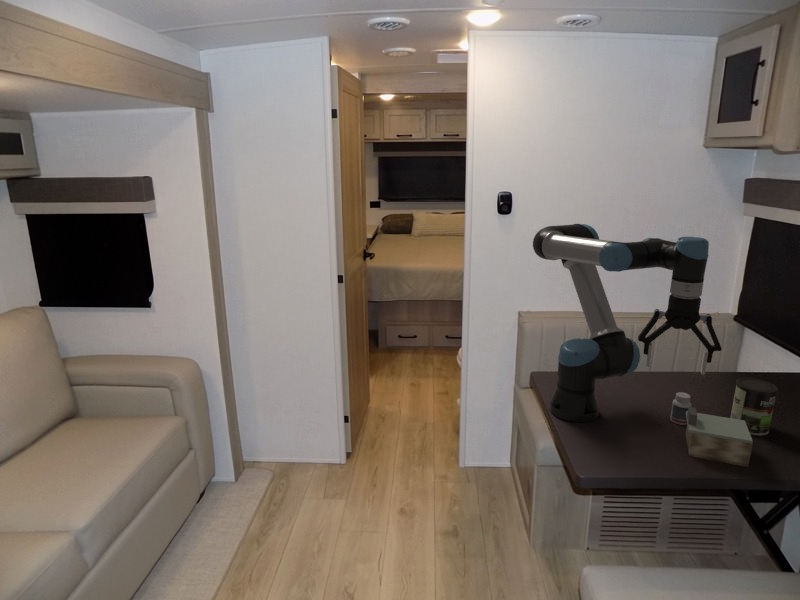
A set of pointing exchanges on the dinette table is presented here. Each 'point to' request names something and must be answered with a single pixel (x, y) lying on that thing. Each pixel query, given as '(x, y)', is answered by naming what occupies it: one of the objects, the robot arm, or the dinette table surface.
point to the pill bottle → (680, 408)
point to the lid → (717, 426)
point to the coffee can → (754, 404)
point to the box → (718, 449)
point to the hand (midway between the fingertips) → (674, 369)
